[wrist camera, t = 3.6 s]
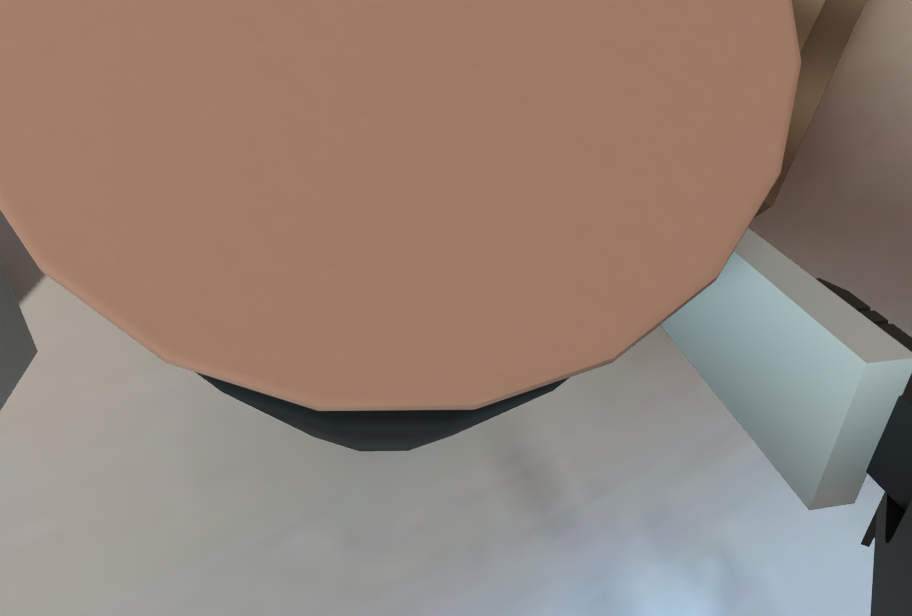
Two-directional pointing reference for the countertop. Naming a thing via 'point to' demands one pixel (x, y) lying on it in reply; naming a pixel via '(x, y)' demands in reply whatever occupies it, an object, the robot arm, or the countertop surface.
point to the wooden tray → (814, 66)
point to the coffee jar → (390, 186)
